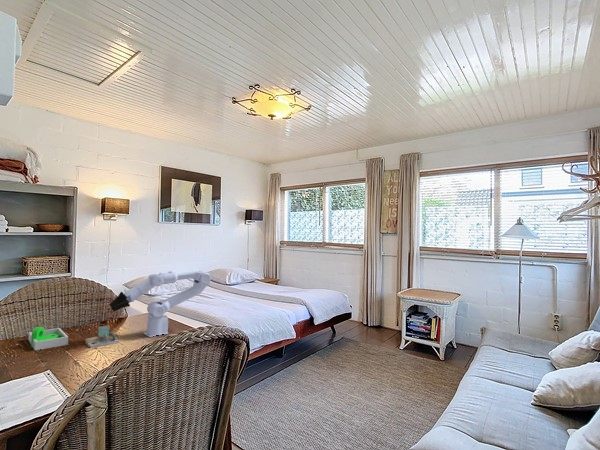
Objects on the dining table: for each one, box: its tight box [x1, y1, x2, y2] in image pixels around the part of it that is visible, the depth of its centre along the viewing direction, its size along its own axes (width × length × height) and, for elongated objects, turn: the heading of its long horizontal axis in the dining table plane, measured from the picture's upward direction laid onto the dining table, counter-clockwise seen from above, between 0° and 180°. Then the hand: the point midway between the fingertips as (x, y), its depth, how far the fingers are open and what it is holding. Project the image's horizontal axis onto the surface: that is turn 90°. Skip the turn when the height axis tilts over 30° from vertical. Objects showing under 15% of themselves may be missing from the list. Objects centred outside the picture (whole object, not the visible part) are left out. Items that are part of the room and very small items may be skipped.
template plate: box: [86, 338, 120, 349], centre depth 148 cm, size 12×5×1 cm, turn 137°
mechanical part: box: [30, 326, 60, 348], centre depth 147 cm, size 12×6×8 cm, turn 7°
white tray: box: [27, 327, 69, 351], centre depth 147 cm, size 12×18×4 cm, turn 47°
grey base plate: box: [84, 331, 119, 345], centre depth 151 cm, size 13×7×3 cm, turn 137°
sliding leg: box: [97, 325, 110, 340], centre depth 152 cm, size 4×7×5 cm, turn 47°
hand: (111, 308), depth 153 cm, fingers open, 7 cm apart
